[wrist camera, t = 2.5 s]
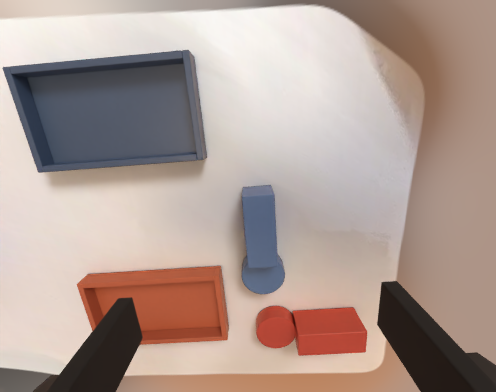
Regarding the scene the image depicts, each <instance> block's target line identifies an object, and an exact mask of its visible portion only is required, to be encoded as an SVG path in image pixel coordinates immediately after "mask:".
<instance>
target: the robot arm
mask: <svg viewBox="0 0 496 392" xmlns="http://www.w3.org/2000/svg"><path fill="white" fill-rule="evenodd" d="M377 325H378V326H379V328H380V329H381V331H382V333H383V334H384V336H385V337H386V339H387V340H388V342H389V343H390V345H391V346H392V348H393V350H394V351H395V353H396V354H397V356H398V357H399V359H400V360H401V362H402V363H403V365H404V366H405V368H406V370H407V371H408V373H409V374H410V376H411V377H412V379H413V380H414V382H415V383H416V385H417V387H418V388H419V390H420V391H421V392H496V365H495V364H493V363H492V362H490V361H489V360H487V359H486V358H484V357H483V356H481V355H480V354H478V353H465V352H464V351H463V350H462V349H461V348H460V347H459V346H458V345H457V344H456V343H455V342H454V341H453V339H452V338H451V337H450V336H449V335H448V334H447V333H446V332H445V331H444V330H443V329H442V328H441V327H440V326H439V325H438V324H437V323H436V322H435V321H434V320H433V319H432V317H431V316H430V315H429V314H428V313H427V312H426V311H425V310H424V309H423V308H422V307H421V306H420V305H419V304H418V303H417V302H416V301H415V300H414V299H413V298H412V297H411V296H410V295H409V294H408V292H407V291H406V290H405V289H404V288H403V287H402V286H401V285H400V284H399V283H398V282H397V281H393V282H382V285H381V295H380V304H379V313H378V323H377ZM142 339H143V336H142V332H141V328H140V324H139V321H138V317H137V313H136V310H135V306H134V302H133V298H132V297H130V298H118V299H117V300H116V302H115V303H114V304H113V306H112V307H111V308H110V309H109V311H108V312H107V313H106V315H105V316H104V317H103V319H102V320H101V321H100V322H99V324H98V325H97V326H96V328H95V329H94V330H93V332H92V333H91V334H90V336H89V337H88V338H87V339H86V341H85V342H84V343H83V345H82V346H81V347H80V349H79V350H78V351H77V352H76V354H75V355H74V356H73V358H72V359H71V360H70V362H69V363H68V364H67V365H66V367H65V368H64V369H63V371H62V372H61V373H60V375H51V376H50V377H49V378H47V379H46V380H45V381H44V382H43V383H42V384H41V385H39V386H38V387H37V388H36V389H35V390H34V391H33V392H116V390H117V388H118V386H119V384H120V382H121V380H122V378H123V376H124V374H125V372H126V370H127V368H128V366H129V364H130V362H131V360H132V358H133V356H134V354H135V352H136V350H137V348H138V347H139V345H140V343H141V341H142Z"/></svg>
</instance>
